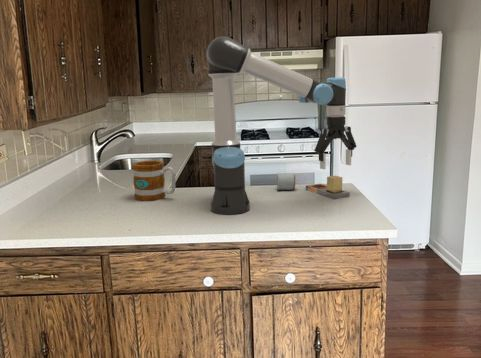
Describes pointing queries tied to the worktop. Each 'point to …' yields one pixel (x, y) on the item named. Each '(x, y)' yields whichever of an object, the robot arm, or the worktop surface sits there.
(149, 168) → the mug
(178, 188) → the worktop surface
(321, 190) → the grey slotted board
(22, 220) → the worktop surface
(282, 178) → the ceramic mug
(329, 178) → the block
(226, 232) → the worktop surface
